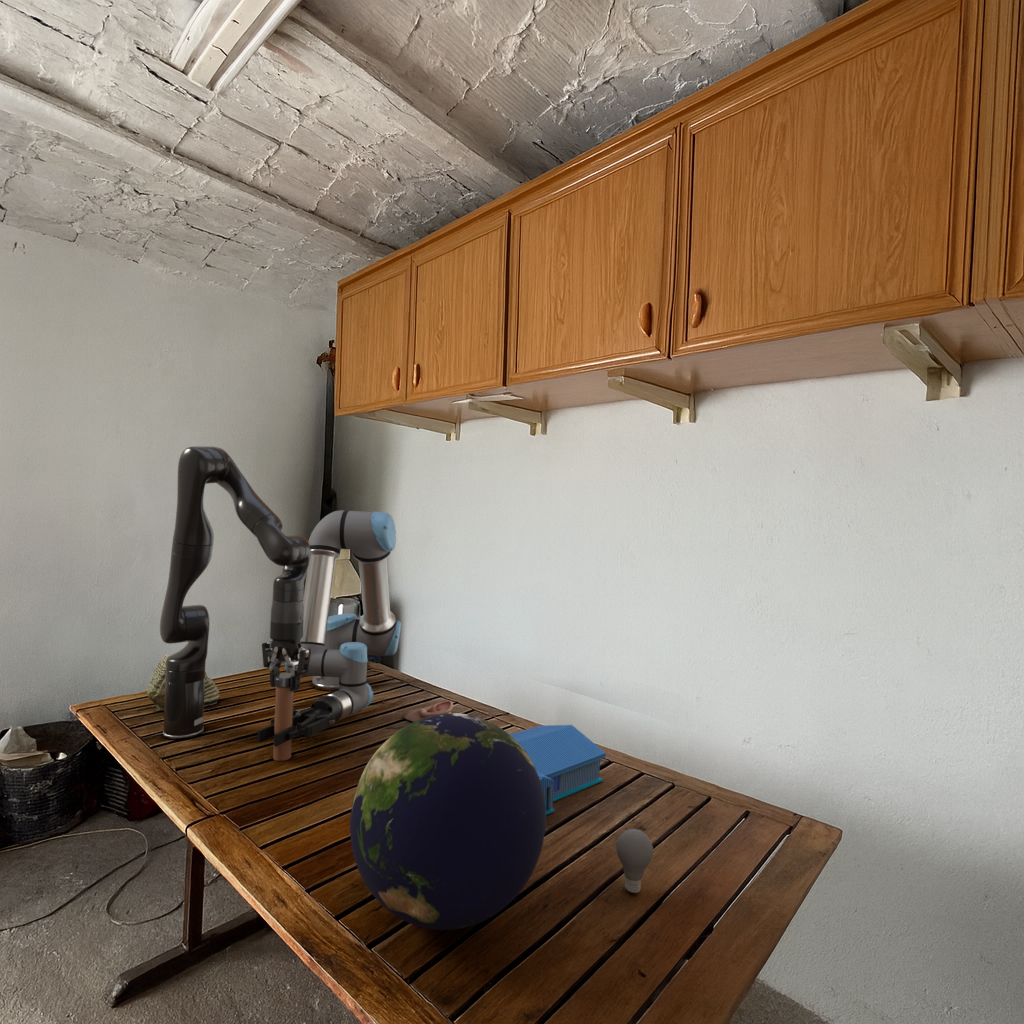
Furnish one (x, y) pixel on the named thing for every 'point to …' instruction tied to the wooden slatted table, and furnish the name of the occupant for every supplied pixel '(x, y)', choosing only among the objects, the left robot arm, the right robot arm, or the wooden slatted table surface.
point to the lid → (282, 680)
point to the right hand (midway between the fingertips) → (266, 738)
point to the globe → (448, 821)
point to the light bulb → (634, 857)
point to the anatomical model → (430, 711)
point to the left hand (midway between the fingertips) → (284, 688)
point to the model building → (561, 760)
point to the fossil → (158, 687)
